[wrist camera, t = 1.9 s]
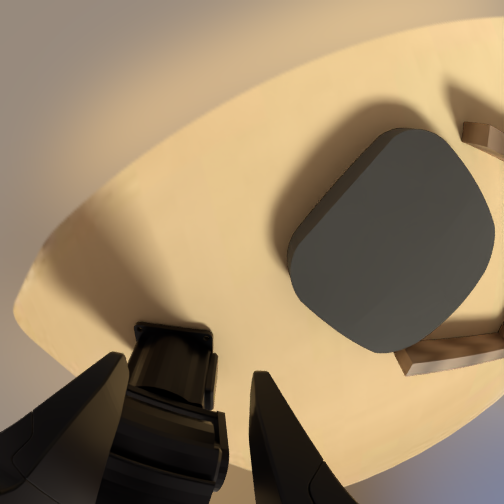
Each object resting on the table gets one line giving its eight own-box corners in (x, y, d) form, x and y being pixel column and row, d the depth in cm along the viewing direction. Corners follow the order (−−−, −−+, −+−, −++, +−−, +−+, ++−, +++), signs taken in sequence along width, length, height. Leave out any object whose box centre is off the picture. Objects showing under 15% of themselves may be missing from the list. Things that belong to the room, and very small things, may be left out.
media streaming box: (400, 104, 15) (424, 103, 13) (489, 235, 19) (509, 249, 16) (262, 261, 20) (264, 283, 17) (382, 348, 24) (393, 370, 21)
